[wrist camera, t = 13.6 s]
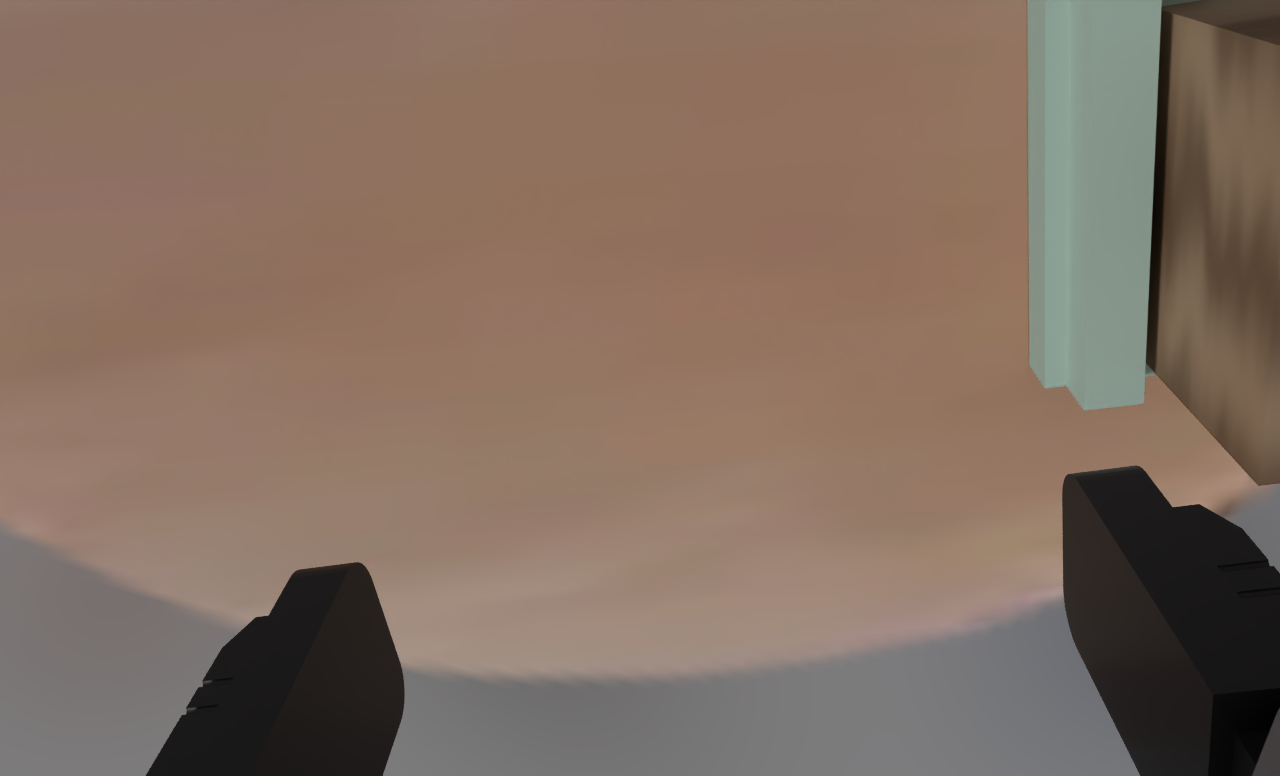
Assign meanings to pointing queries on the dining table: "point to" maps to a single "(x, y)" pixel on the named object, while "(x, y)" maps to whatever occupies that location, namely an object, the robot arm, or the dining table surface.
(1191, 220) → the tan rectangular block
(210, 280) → the dining table surface
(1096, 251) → the picture ledge
